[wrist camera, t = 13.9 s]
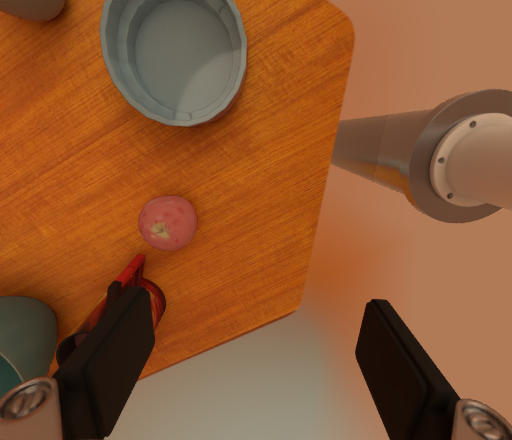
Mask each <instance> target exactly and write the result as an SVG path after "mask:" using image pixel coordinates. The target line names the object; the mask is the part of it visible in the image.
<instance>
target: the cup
mask: <svg viewBox="0 0 512 440" xmlns="http://www.w3.org/2000/svg"><path fill="white" fill-rule="evenodd" d="M64 5H65V0H0V11H2V12H4V13H6V14H9V15H11V16H14V17H17V18H20V19H24V20H29V21H36V22H39V21H47V20H50V19H53V18H55V17H56V16H57V15H59V14H60V13H61V11H62V10H63V8H64Z"/></svg>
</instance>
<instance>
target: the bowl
mask: <svg viewBox="0 0 512 440" xmlns="http://www.w3.org/2000/svg"><path fill="white" fill-rule="evenodd" d="M99 30H100V31H99V32H100V40H101V47H102V55H103V59H104V62H105V64H106V67H107V69H108V72H109V74H110V77H111V79H112V81H113V83H114V84H115V86H116V87H117V88H118V90H119V91H120V92H121V94H122V95H123V96H124V98H125V99H126V101H127V102H128V103H129V104H130V105H132V106H133V107H134V108H136V109H137V110H138V111H139V112H141V113H142V114H143V115H144V116H146V117H148V118H150V119H153V120H155V121H158V122H160V123H163V124H165V125H170V126H185V127H199V126H202V125H206V124H209V123H213V122H215V121H216V120H217V119H219V118H220V117H222V116H223V115H224V114H226V113H227V112H228V111H229V110H230V109H231V107H232V106H233V105H234V103H235V102H236V101H237V99H238V98H239V96H240V94H241V91H242V88H243V85H244V82H245V79H246V75H247V56H248V53H247V39H246V35H245V30H244V26H243V22H242V18H241V14H240V12H239V10H238V8H237V6H236V5H235V3H234V1H233V0H105V1H104V4H103V9H102V16H101V22H100V29H99Z"/></svg>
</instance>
